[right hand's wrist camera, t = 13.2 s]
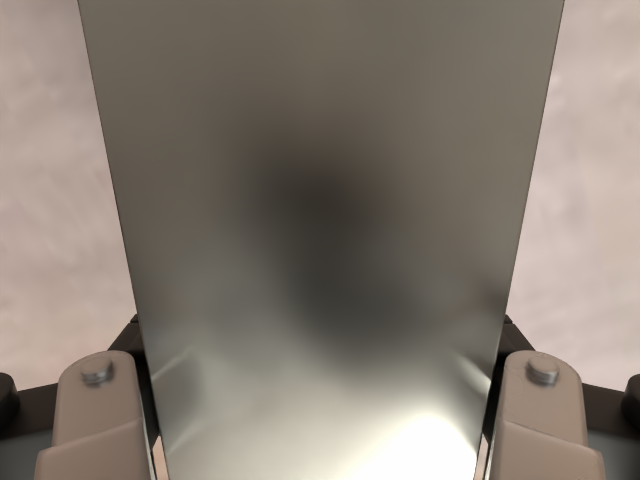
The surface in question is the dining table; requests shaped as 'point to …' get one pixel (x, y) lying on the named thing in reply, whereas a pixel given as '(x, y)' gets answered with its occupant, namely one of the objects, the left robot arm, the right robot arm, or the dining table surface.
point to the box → (321, 221)
